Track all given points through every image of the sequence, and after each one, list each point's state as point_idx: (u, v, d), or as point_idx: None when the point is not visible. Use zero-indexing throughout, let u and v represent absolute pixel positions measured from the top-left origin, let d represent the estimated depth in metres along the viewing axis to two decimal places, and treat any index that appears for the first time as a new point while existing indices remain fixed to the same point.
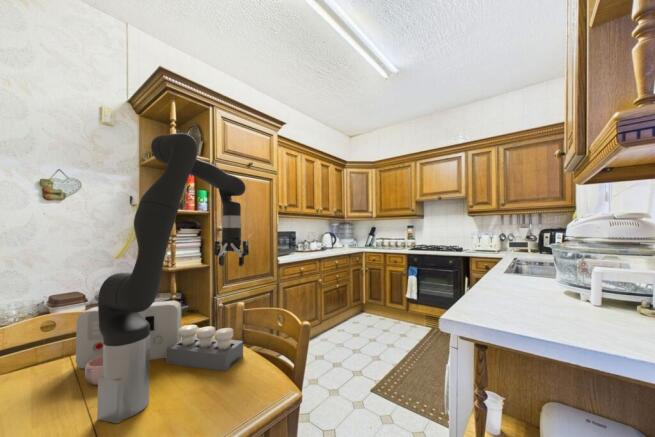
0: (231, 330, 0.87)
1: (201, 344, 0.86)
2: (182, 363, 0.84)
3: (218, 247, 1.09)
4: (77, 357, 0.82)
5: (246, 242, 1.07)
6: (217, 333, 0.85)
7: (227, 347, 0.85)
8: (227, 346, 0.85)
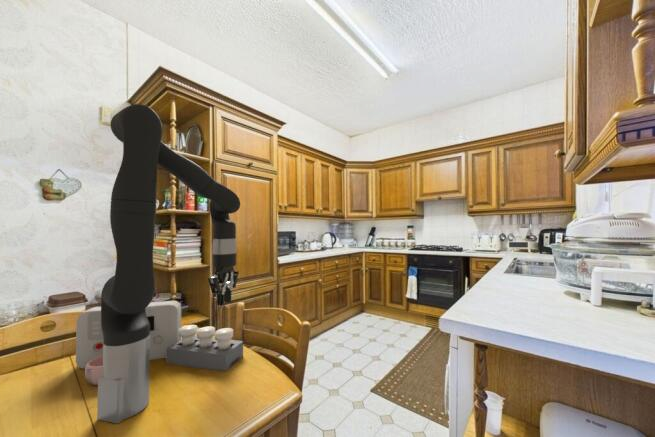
0: (231, 330, 0.87)
1: (201, 344, 0.86)
2: (182, 363, 0.84)
3: None
4: (77, 357, 0.82)
5: None
6: (217, 333, 0.85)
7: (227, 347, 0.85)
8: (227, 346, 0.85)
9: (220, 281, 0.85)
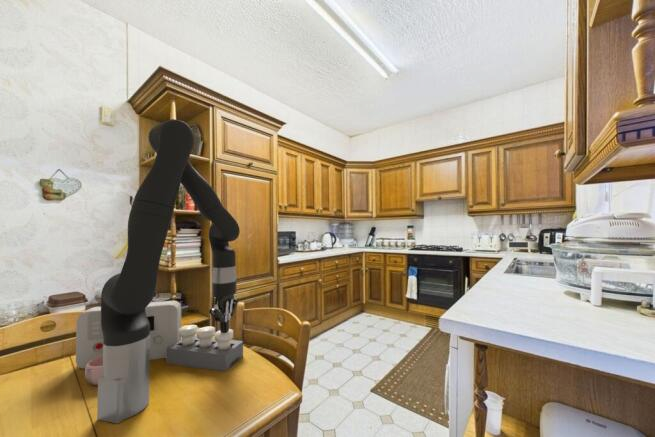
0: (231, 331, 0.87)
1: (201, 344, 0.86)
2: (182, 363, 0.84)
3: None
4: (77, 357, 0.82)
5: None
6: (217, 334, 0.85)
7: (227, 348, 0.85)
8: (227, 346, 0.85)
9: None
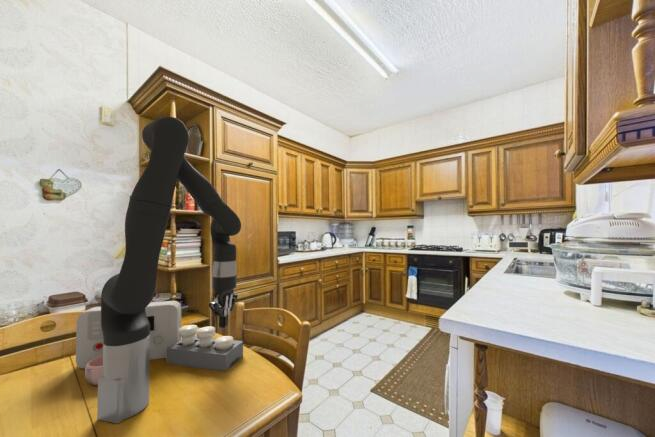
0: (231, 338, 0.87)
1: (201, 344, 0.86)
2: (182, 363, 0.84)
3: None
4: (77, 357, 0.82)
5: None
6: (217, 341, 0.85)
7: None
8: None
9: None
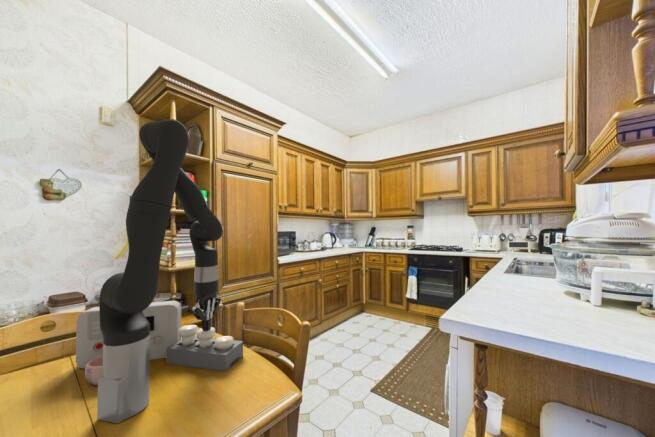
0: (231, 338, 0.87)
1: (201, 345, 0.86)
2: (182, 363, 0.84)
3: None
4: (77, 357, 0.82)
5: None
6: (217, 341, 0.85)
7: None
8: None
9: None
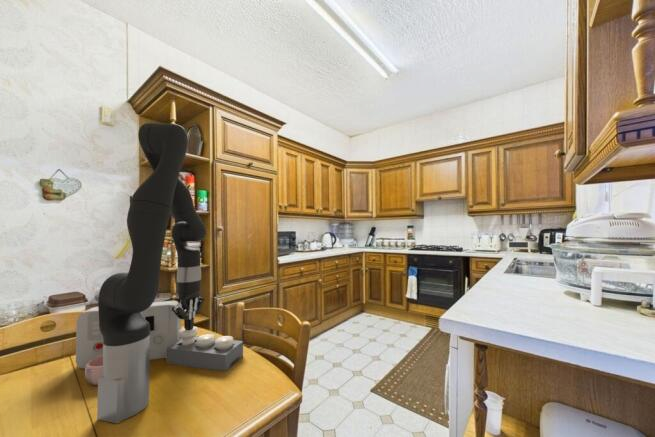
0: (231, 338, 0.87)
1: None
2: (182, 363, 0.84)
3: None
4: (77, 357, 0.82)
5: None
6: (217, 341, 0.85)
7: None
8: None
9: None
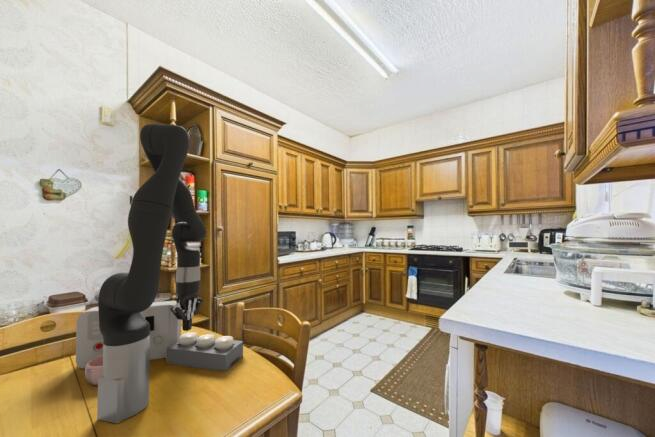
0: (231, 338, 0.87)
1: None
2: (182, 363, 0.84)
3: None
4: (77, 357, 0.82)
5: None
6: (217, 341, 0.85)
7: None
8: None
9: None
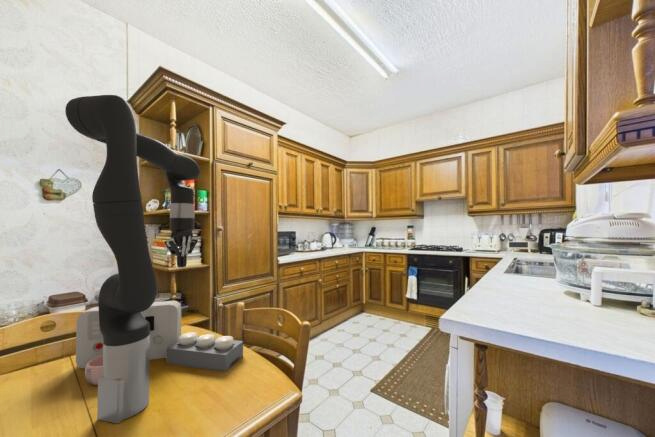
0: (231, 338, 0.87)
1: None
2: (182, 363, 0.84)
3: None
4: (77, 357, 0.82)
5: None
6: (217, 341, 0.85)
7: None
8: None
9: None
